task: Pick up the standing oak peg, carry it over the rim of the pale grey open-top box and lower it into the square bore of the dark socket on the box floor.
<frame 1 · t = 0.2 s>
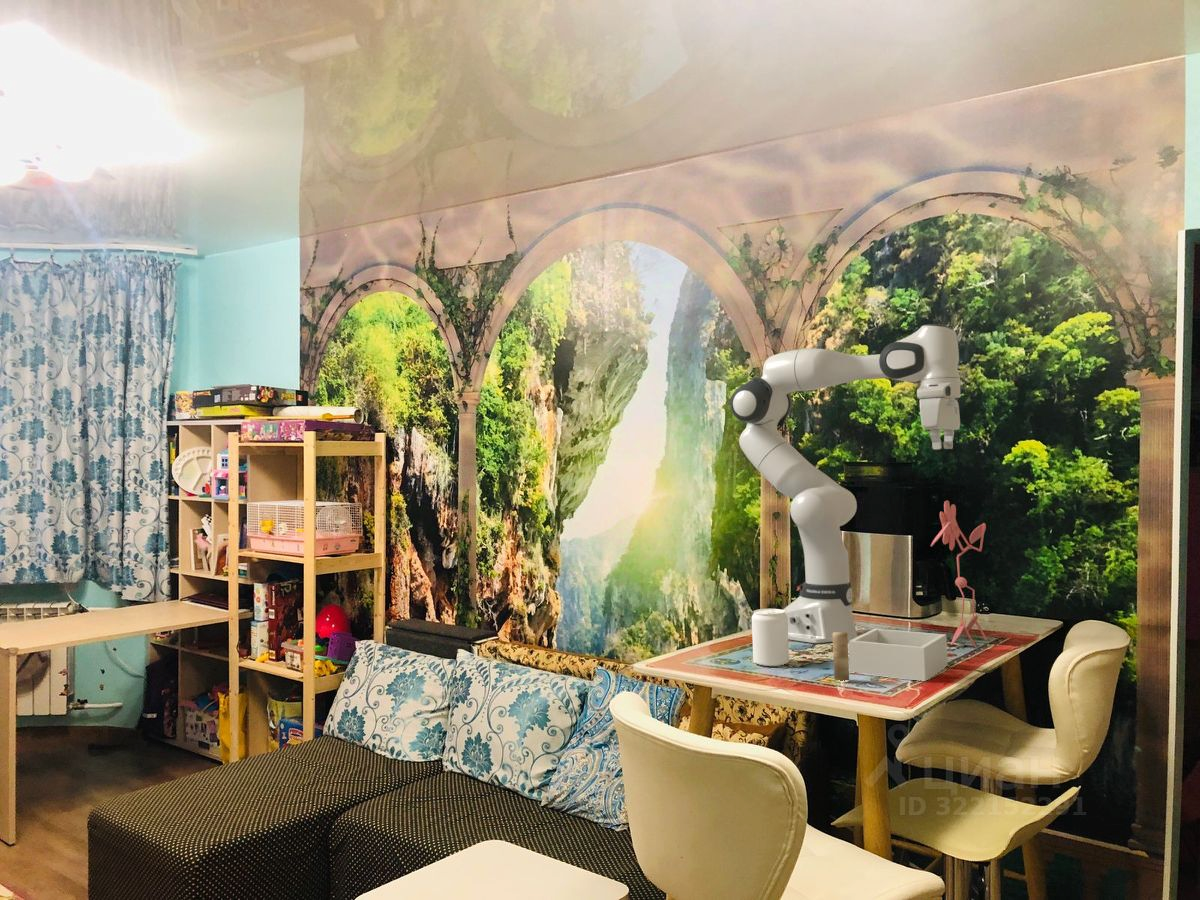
hand: (942, 449, 217), 48 cm above the table, tool pointing down, fingers open, 8 cm apart
peg box: (899, 670, 197), on the table
peg: (841, 681, 189), on the table
beverage can: (771, 664, 207), on the table
pink stick figurine: (952, 641, 224), on the table
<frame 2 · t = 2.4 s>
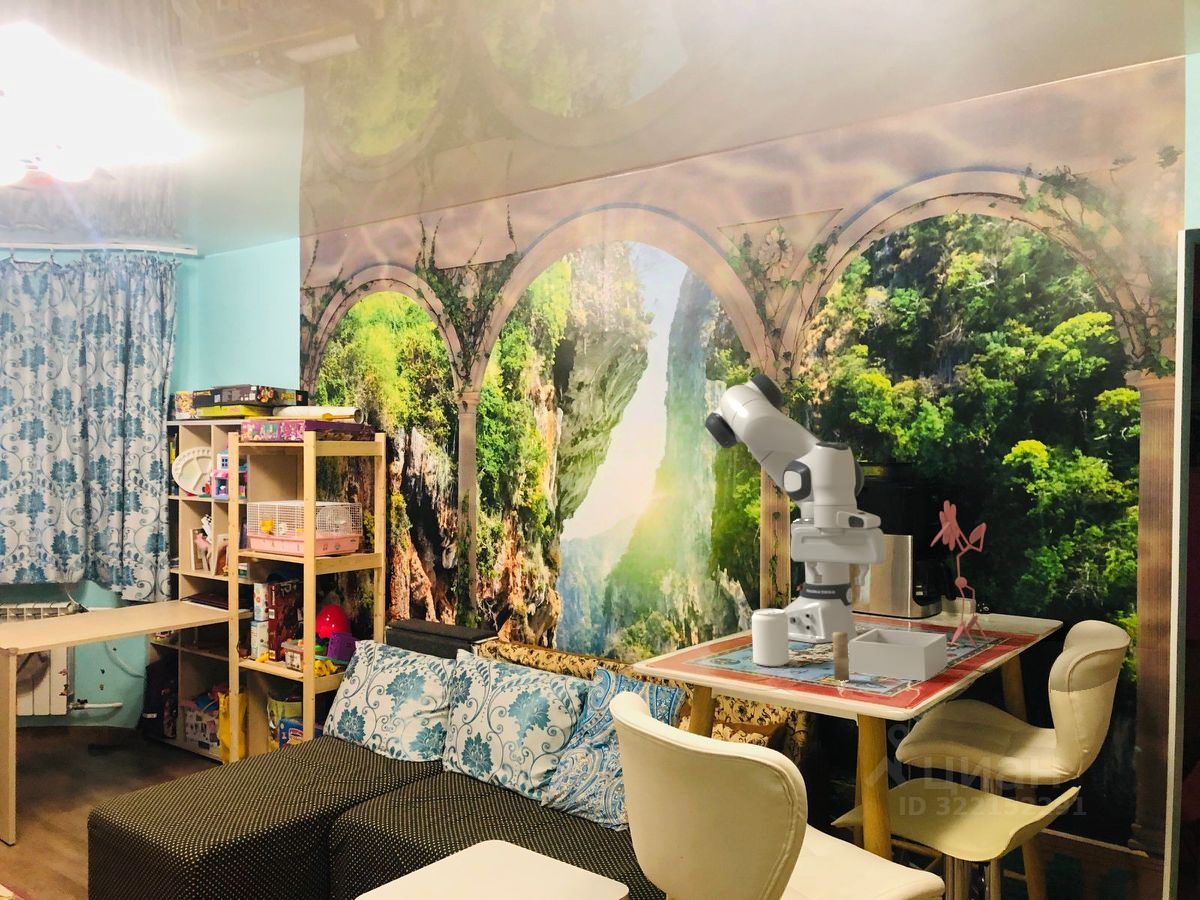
hand: (838, 584, 190), 20 cm above the table, tool pointing down, fingers open, 8 cm apart
nothing on the table moved.
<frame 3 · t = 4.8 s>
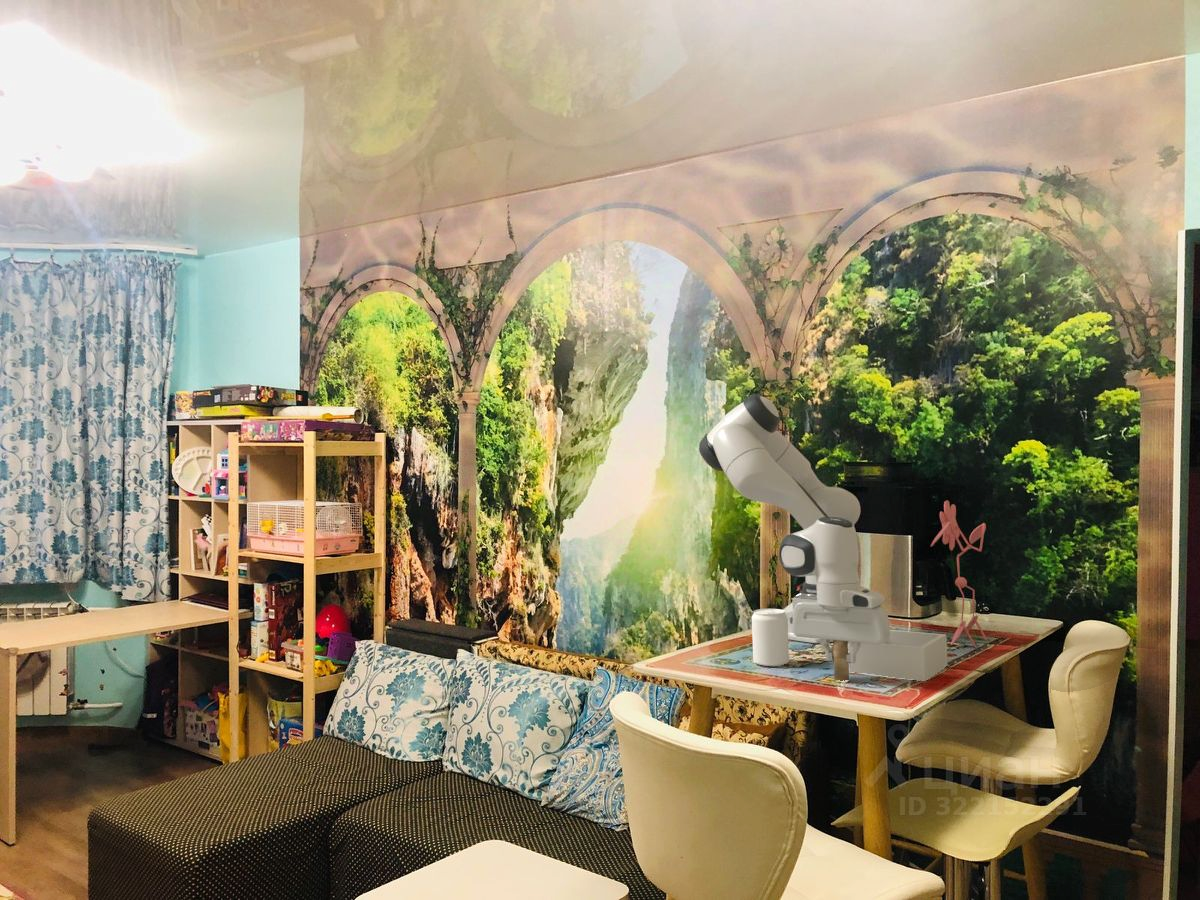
hand: (841, 661, 189), 4 cm above the table, tool pointing down, fingers closed on peg, 3 cm apart
peg: (841, 681, 189), on the table, touching gripper
everything else where it was.
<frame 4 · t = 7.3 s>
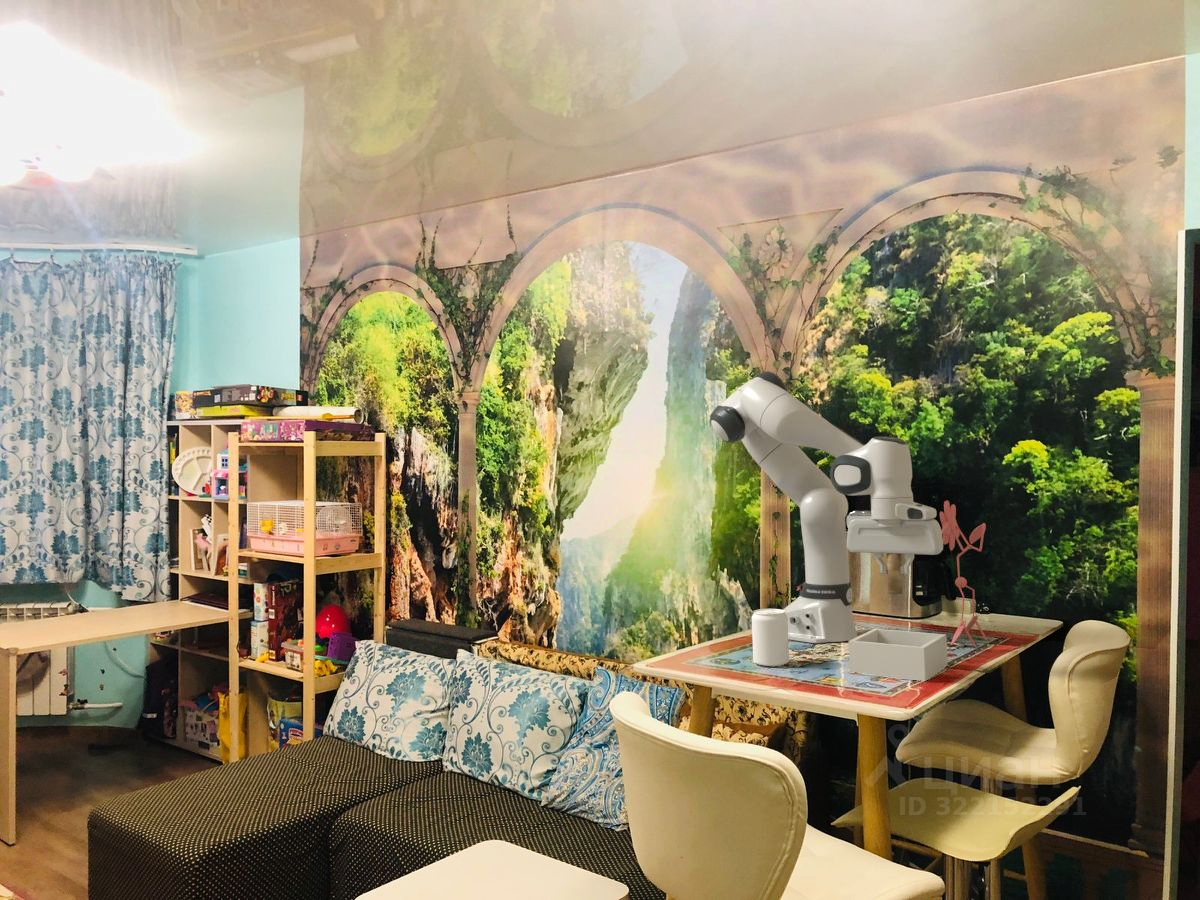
hand: (894, 574, 197), 21 cm above the table, tool pointing down, fingers closed on peg, 3 cm apart
peg: (895, 593, 197), point 17 cm above the table, touching gripper
everything else where it was.
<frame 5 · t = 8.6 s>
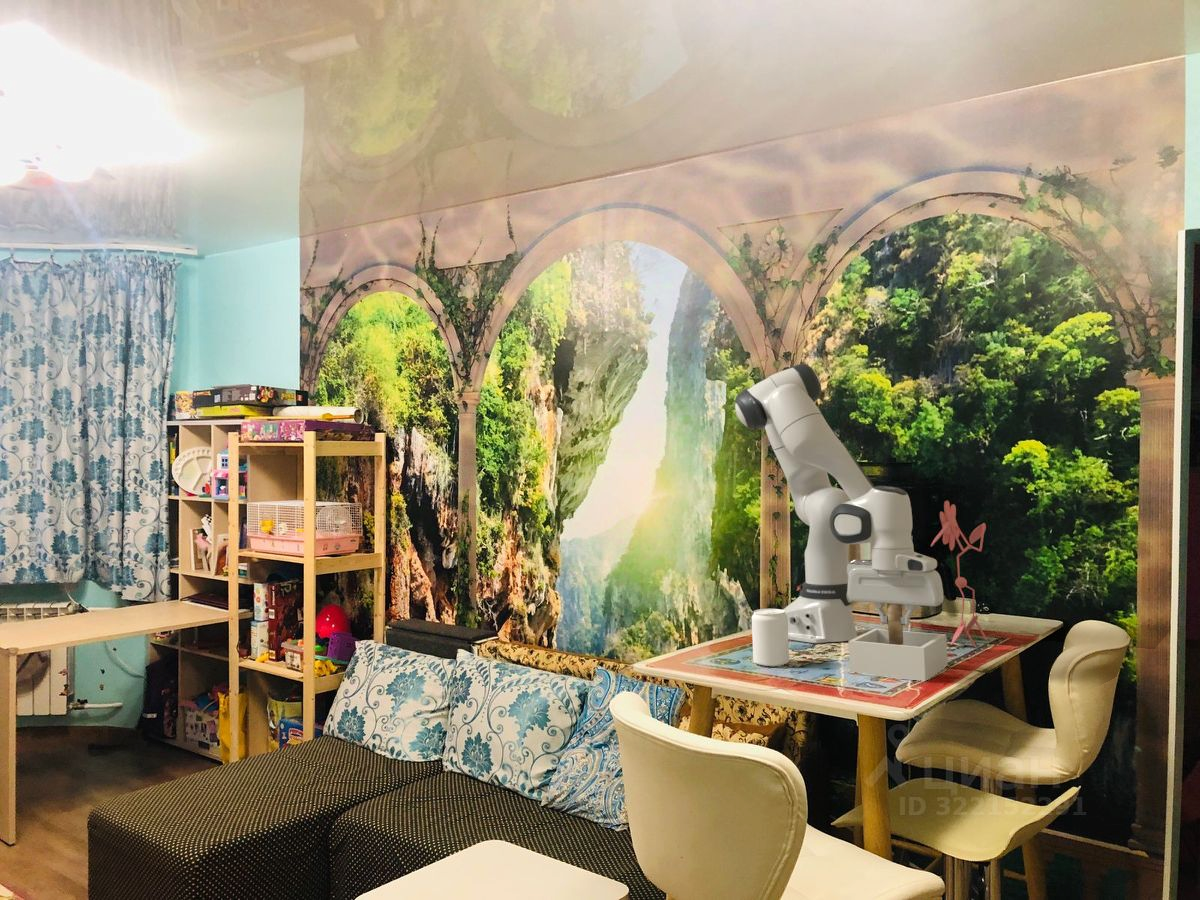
hand: (895, 624, 197), 10 cm above the table, tool pointing down, fingers closed on peg, 3 cm apart
peg: (896, 643, 197), point 6 cm above the table, touching gripper
everything else where it was.
when the fingers open (6 cm above the table, at t = 9.6 s): peg stays where it is, resting on peg box.
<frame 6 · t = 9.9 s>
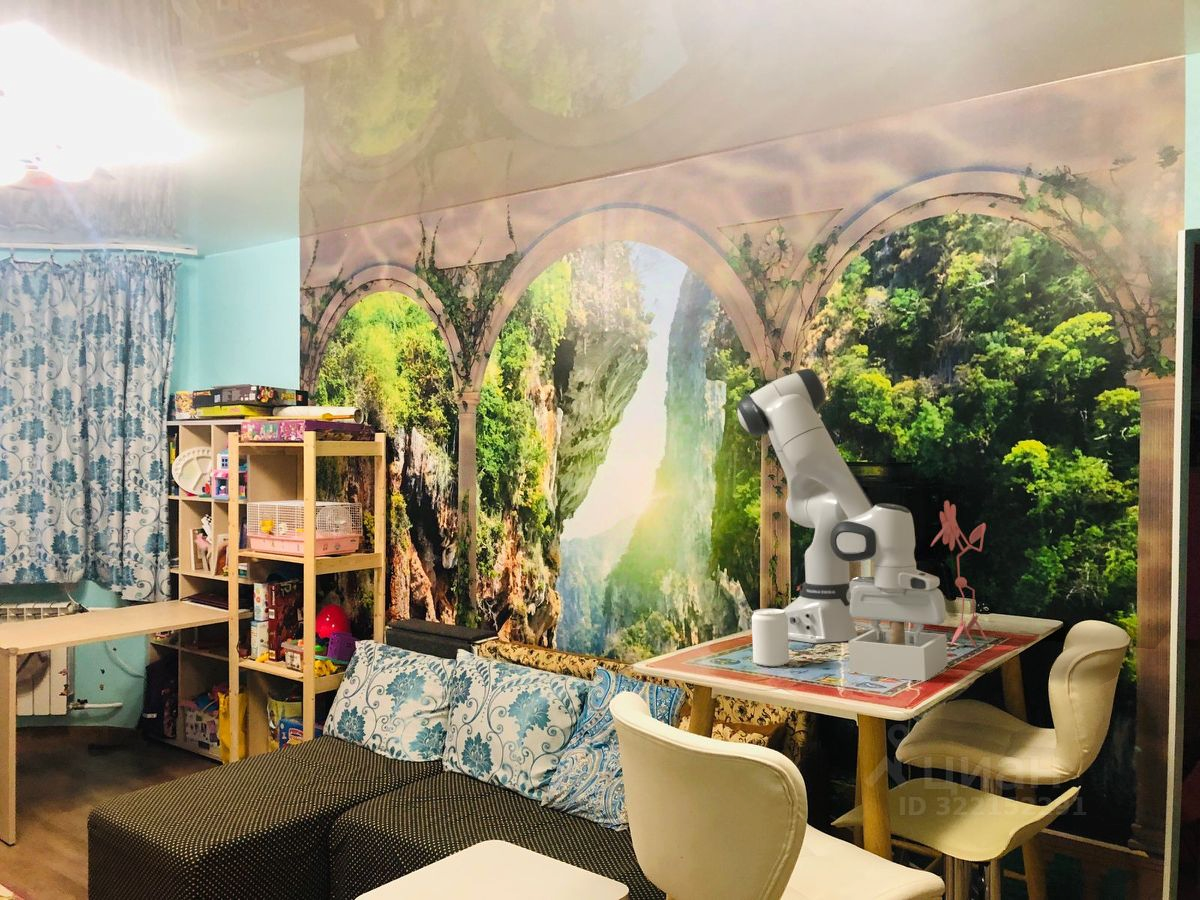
hand: (897, 641, 197), 6 cm above the table, tool pointing down, fingers open, 6 cm apart
peg: (898, 665, 197), point 1 cm above the table, touching peg box
everything else where it was.
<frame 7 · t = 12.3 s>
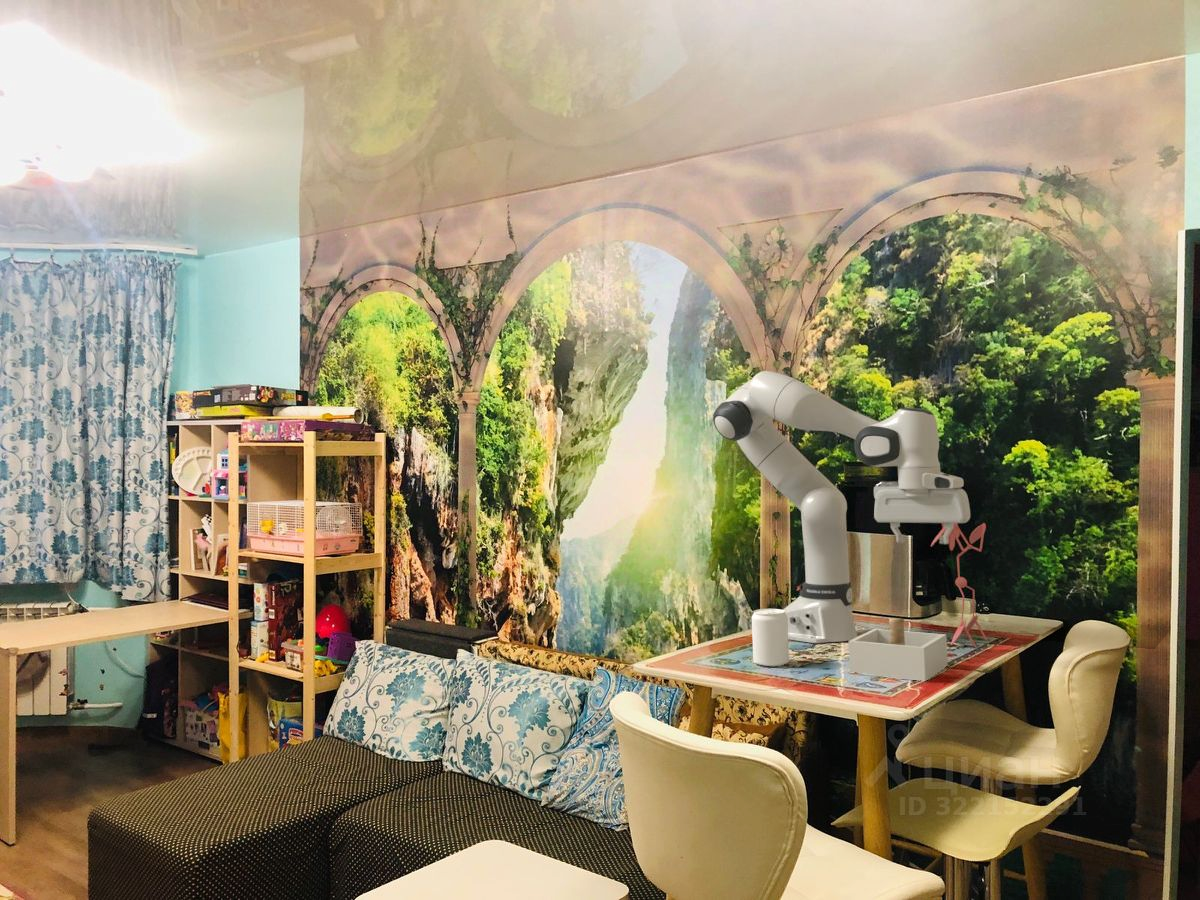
hand: (922, 543, 199), 27 cm above the table, tool pointing down, fingers open, 8 cm apart
nothing on the table moved.
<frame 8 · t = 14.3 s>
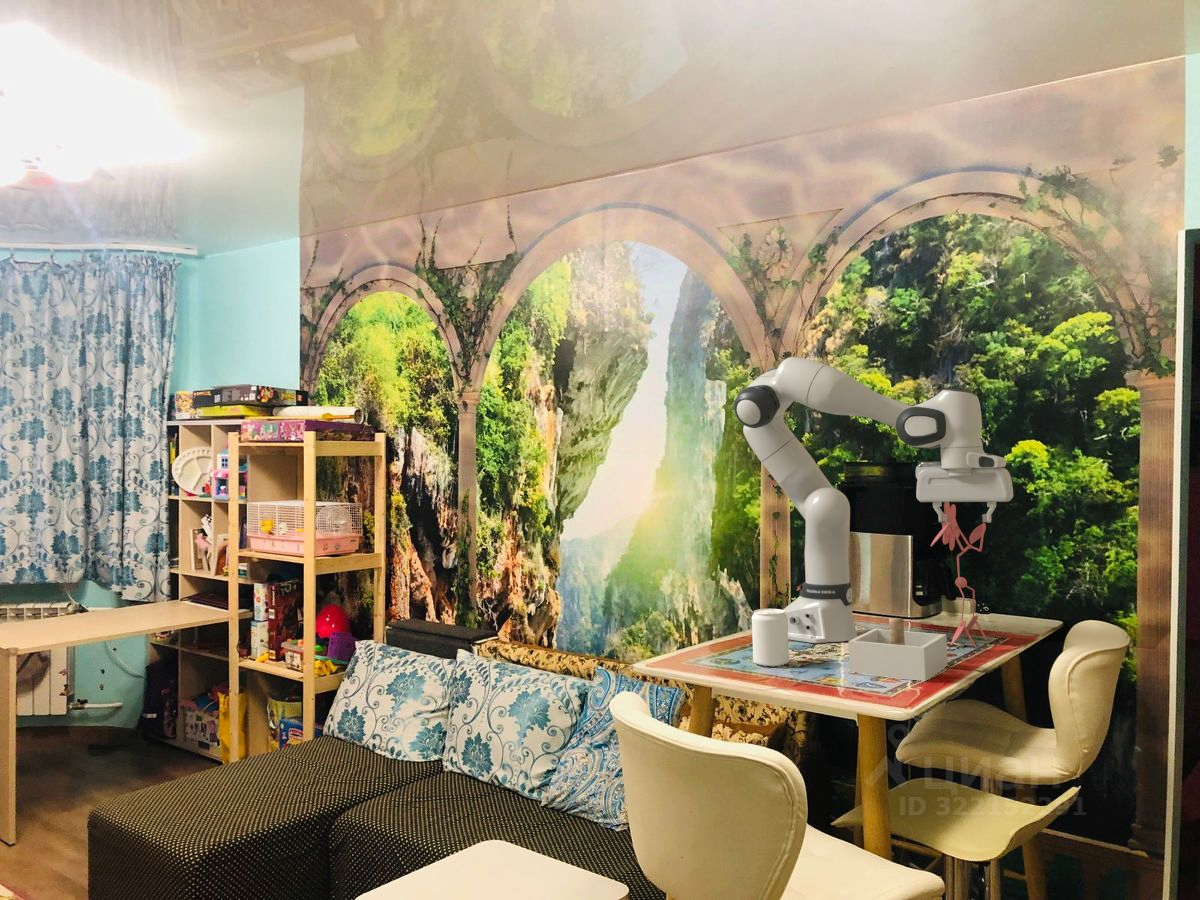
hand: (964, 522, 203), 31 cm above the table, tool pointing down, fingers open, 8 cm apart
nothing on the table moved.
at the end: peg 0.1 cm off-centre on the peg box, point 1.0 cm above the peg box's base; peg tilted 1°; the gripper is holding nothing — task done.
